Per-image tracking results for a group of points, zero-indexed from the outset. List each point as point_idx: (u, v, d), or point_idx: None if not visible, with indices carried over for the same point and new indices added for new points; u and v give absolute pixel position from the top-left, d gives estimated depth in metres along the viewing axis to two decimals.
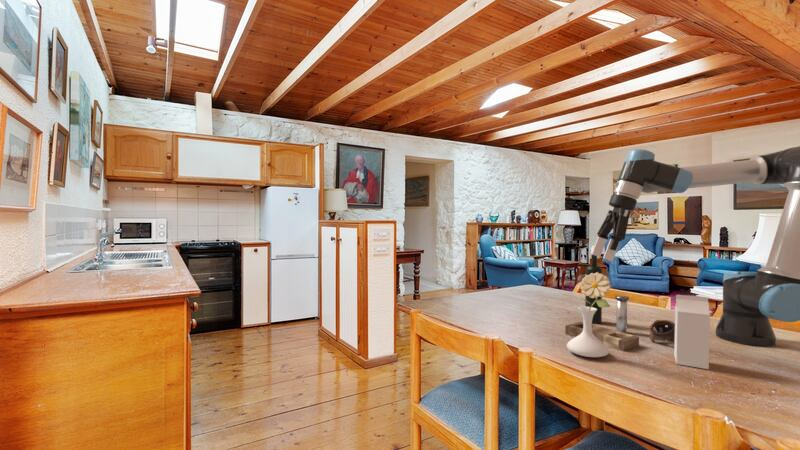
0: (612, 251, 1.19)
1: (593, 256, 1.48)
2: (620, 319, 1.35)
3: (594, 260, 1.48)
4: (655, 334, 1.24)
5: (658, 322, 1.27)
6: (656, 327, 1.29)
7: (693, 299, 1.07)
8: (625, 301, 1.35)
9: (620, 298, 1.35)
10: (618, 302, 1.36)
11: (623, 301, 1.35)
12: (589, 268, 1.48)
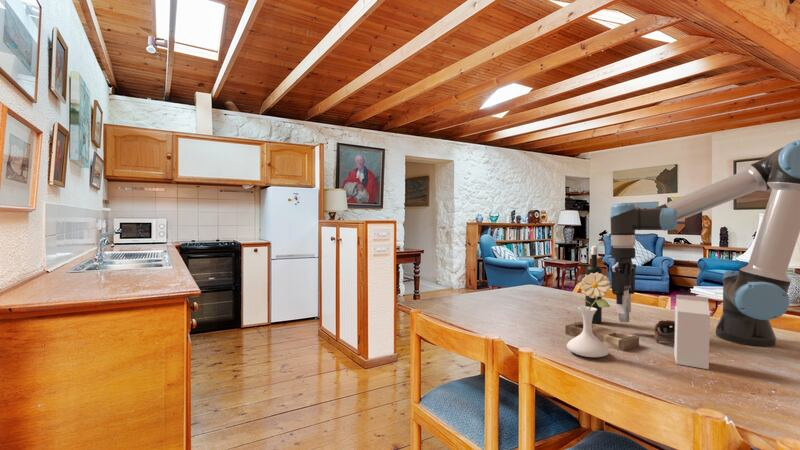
0: (621, 305, 1.34)
1: (593, 256, 1.48)
2: None
3: (594, 260, 1.48)
4: (660, 335, 1.23)
5: (663, 323, 1.26)
6: (660, 327, 1.28)
7: (693, 299, 1.07)
8: (627, 290, 1.34)
9: None
10: None
11: (625, 290, 1.34)
12: (589, 268, 1.48)
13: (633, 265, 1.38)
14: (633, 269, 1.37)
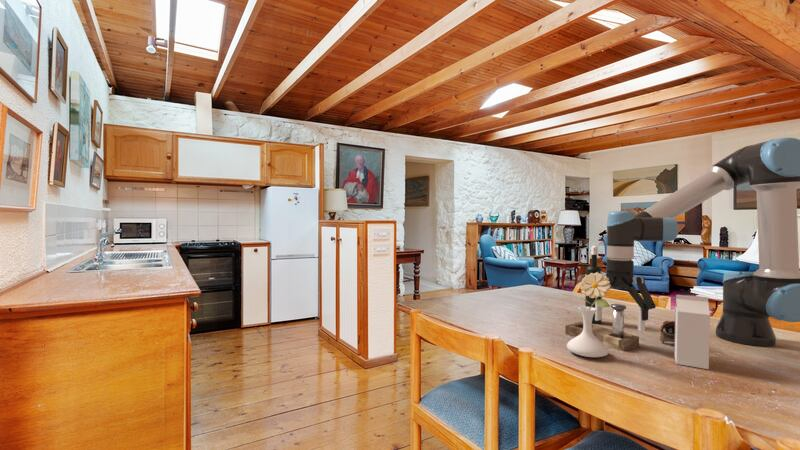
0: None
1: (593, 256, 1.48)
2: None
3: (594, 260, 1.48)
4: (666, 335, 1.22)
5: (668, 323, 1.26)
6: (666, 328, 1.28)
7: (693, 299, 1.07)
8: (614, 309, 1.22)
9: None
10: None
11: (613, 309, 1.23)
12: (589, 268, 1.48)
13: None
14: None
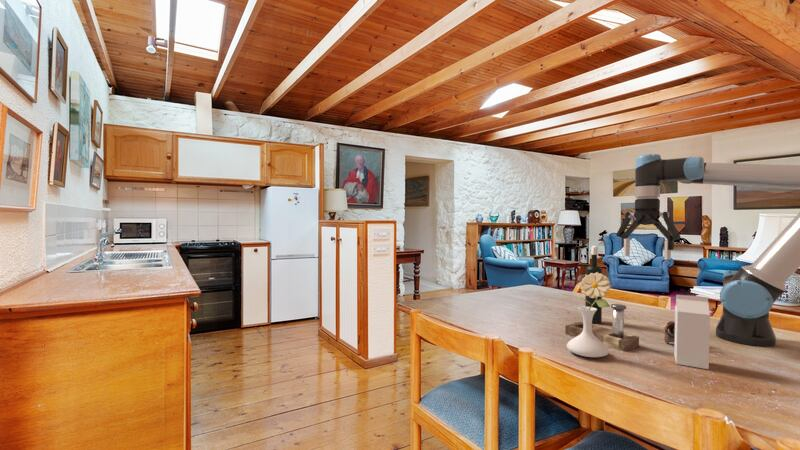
0: None
1: (593, 256, 1.48)
2: None
3: (594, 260, 1.48)
4: (671, 336, 1.22)
5: (672, 324, 1.25)
6: (670, 329, 1.27)
7: (693, 299, 1.07)
8: (614, 310, 1.22)
9: None
10: None
11: (613, 309, 1.23)
12: (589, 268, 1.48)
13: None
14: None
